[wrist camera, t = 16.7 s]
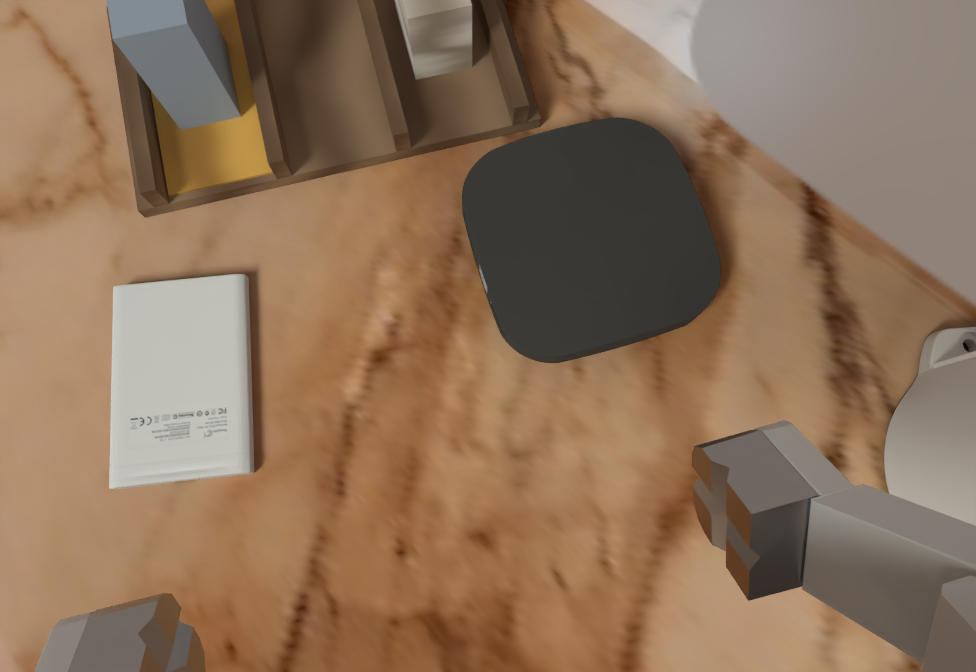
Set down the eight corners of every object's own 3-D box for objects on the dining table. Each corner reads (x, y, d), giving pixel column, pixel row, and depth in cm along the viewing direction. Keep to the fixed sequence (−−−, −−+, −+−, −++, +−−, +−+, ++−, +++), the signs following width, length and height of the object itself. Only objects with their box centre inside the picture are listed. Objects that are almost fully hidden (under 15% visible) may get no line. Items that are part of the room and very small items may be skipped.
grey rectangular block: (226, 41, 48) (170, -65, 39) (241, 116, 46) (187, 23, 38) (167, 54, 47) (98, -51, 39) (181, 130, 46) (112, 39, 37)
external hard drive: (252, 281, 45) (257, 474, 42) (123, 294, 45) (119, 490, 42) (244, 272, 44) (249, 472, 41) (110, 285, 43) (105, 488, 40)
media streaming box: (727, 317, 45) (744, 303, 42) (511, 379, 44) (514, 370, 41) (649, 124, 49) (660, 99, 46) (448, 177, 47) (446, 154, 44)
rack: (479, -62, 52) (479, -149, 45) (539, 126, 48) (550, 62, 41) (113, 13, 50) (56, -67, 43) (145, 217, 46) (87, 164, 39)
